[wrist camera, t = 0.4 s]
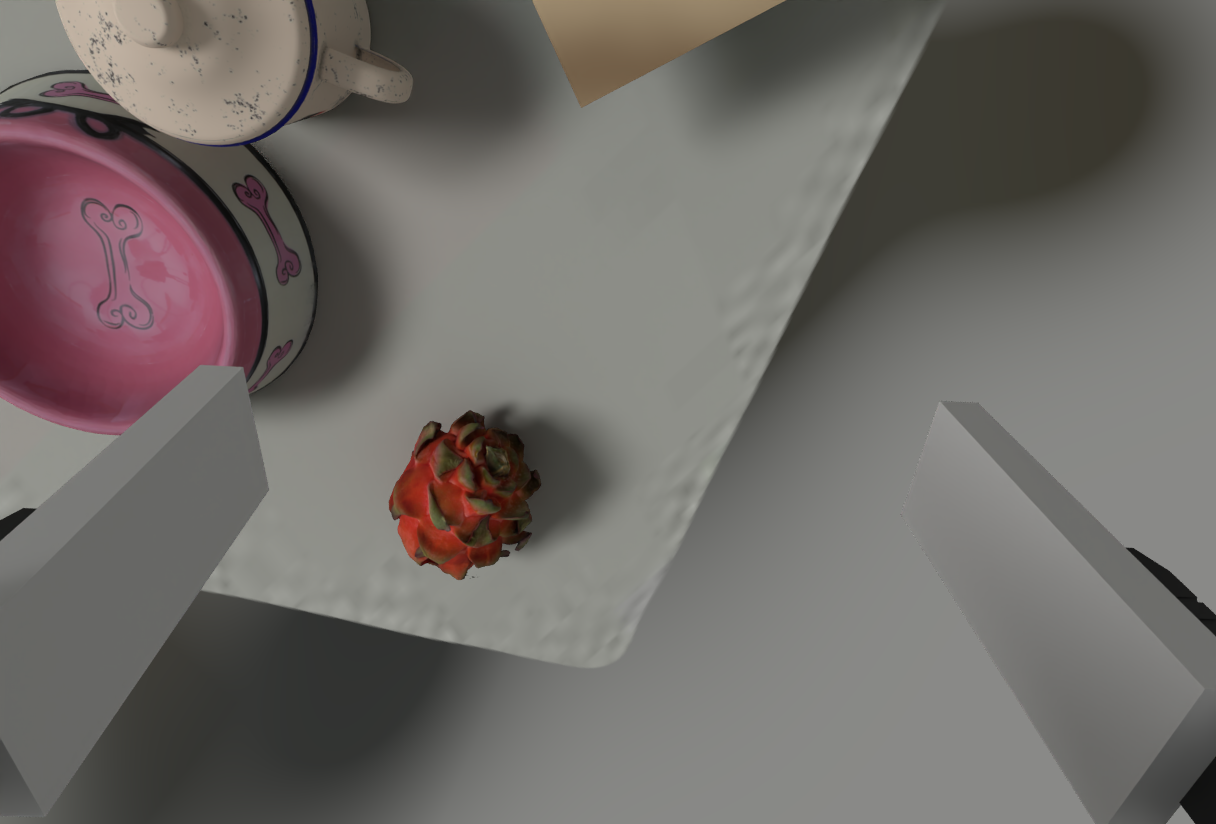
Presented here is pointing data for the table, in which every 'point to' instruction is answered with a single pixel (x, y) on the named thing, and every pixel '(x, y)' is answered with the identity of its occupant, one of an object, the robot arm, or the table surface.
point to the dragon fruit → (463, 496)
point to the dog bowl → (136, 258)
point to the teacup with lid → (230, 62)
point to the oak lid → (633, 35)
